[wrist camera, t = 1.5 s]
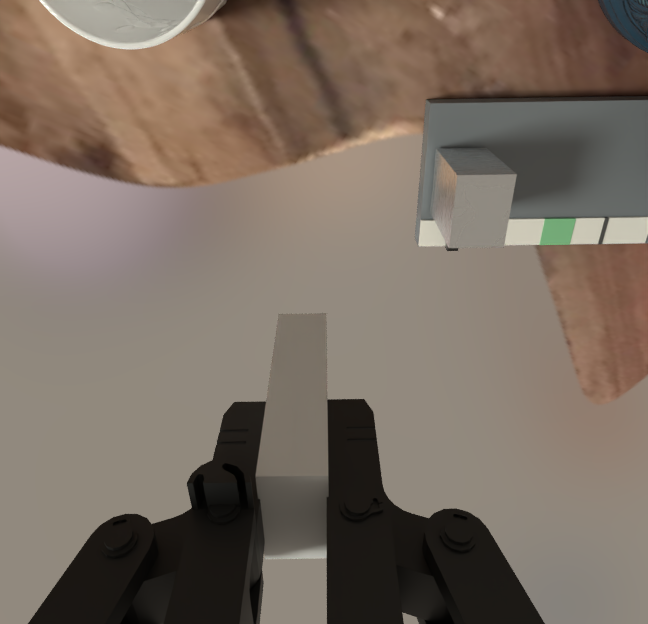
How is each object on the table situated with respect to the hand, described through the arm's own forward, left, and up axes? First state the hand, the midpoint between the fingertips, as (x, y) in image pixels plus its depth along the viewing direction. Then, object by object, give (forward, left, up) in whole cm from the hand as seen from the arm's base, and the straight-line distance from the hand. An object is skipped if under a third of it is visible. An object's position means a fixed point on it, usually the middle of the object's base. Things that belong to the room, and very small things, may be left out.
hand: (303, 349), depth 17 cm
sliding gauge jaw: (+1, +9, -18) cm, 20 cm away
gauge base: (0, +16, -20) cm, 25 cm away
